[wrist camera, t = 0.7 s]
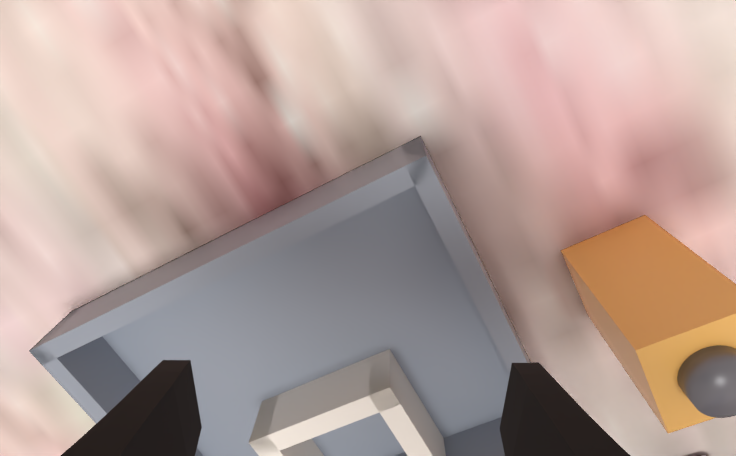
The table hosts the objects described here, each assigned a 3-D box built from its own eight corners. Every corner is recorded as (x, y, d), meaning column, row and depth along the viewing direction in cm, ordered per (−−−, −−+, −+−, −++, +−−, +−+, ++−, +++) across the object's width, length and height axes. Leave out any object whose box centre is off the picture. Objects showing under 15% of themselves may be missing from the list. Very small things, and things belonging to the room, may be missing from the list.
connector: (668, 283, 22) (806, 413, 15) (587, 315, 23) (681, 453, 15) (644, 214, 21) (781, 319, 14) (561, 250, 21) (648, 367, 14)
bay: (552, 405, 25) (573, 455, 22) (245, 515, 28) (230, 569, 26) (420, 136, 20) (426, 155, 17) (71, 311, 23) (28, 350, 21)
